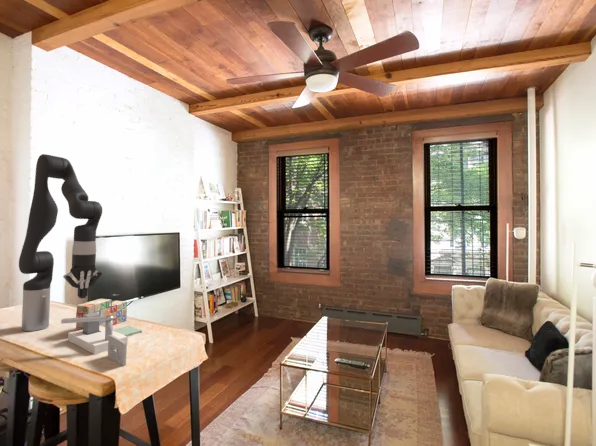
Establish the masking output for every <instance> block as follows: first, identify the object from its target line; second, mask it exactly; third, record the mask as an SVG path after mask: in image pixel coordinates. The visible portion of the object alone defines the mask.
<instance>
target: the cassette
mask: <svg viewBox="0 0 596 446" xmlns="http://www.w3.org/2000/svg"><path fill="white" fill-rule="evenodd" d="M127 345H128V342H127V343H126V342H124V341H122V340H121V339H119V338H117V337H115V336H113V335H109V339H108V350H107V357H108V359H110V360H112V361H113V362H115V363H117V364H118V365H120V366H122V367H124V366H127Z"/></svg>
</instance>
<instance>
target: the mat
mask: <svg viewBox="0 0 596 446" xmlns="http://www.w3.org/2000/svg"><path fill="white" fill-rule="evenodd" d="M113 331H115V332H118V333H120V334H123V335H125V336H128V337H129V336H133V334H134V335H137V334H141V333H143V330H142V329H140V328H137V327H135V326H131V325H126V326H122V327H118V328H114V329H113Z"/></svg>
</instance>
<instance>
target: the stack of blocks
mask: <svg viewBox="0 0 596 446" xmlns="http://www.w3.org/2000/svg"><path fill="white" fill-rule="evenodd" d="M127 306H128V302H127V301H126V300H125V301H123V300H112V299H109V298H108V299H107V298H97V299H94V300H91V301H87V302H84V303H79V304H77V305H76V313H75V318H82V317H83V315H84V314H89V313H94V312H95V313H97V314H100V316H110V315H112V316H113V326H116V325H118V324H120V323H121V324H122V323H123V322H125V321H127V316H128V315H127V313H128V308H127ZM105 323H106V321H100V322H99V326H100V325H101V326H103V327H105ZM75 326H76V327H75V331H79V330H83V322H78V323H75Z"/></svg>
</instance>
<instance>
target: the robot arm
mask: <svg viewBox="0 0 596 446" xmlns="http://www.w3.org/2000/svg"><path fill="white" fill-rule="evenodd" d="M35 165H36V166H35V177H34V188H33V195H32V199H31V204H30V210H29V215H28V219H27V220H28V222H27V228H26V234H25V239H24V241H23V244H22V248H21V252H20V256H19V258H18V269H19V271H20V272H21V274H24V275H29V274H36V275H35V276H34V277H33V278H31V279H29V280H27V281H25V282H24V283H23V284H22V285H23V286H22V306H21V307H22V311H21V312H22V313H21V330H22V331H23V332H34V331H35V332H37V331H40V330H44V329H47V328H49V326H50V310H51V309H50V306H51V305H50V304H51V285H52V281H53V274H54V267H55V266H54V264H55V263H54V261H55V259H54V256H53V254H52V252H50V251H48V250H47V251H46V250H41V251H39V250H38V248H39V245H40V243H41V242H42V241H43V239H44V238H45V237H46V236H47V235H48V234H49V233H50V232H51V231H52V230H53V228H55V225H56V223H57V217H58V214H59V208H58V205H57V204H56V201H55V199H54V198H53V196H52V195H51V194H52V193H50V192H51V191H50V189H49V182H48V181H49V178H52V179H56V180H57V179H58V180H60V179H61V180H63V183H62V184H61V188H60V189H61V193H62V195H63V197H64V199H65V201H67V204H68V205H67V206H68V211H69V212H68V213H69V215H70V216H71V217H72V218H74V219H78V220H87V221H86V222H85V223H84V224H81V225H80V224H79V225H77V226H75V227H74V229H73V243H72V250H71V251H72V252H71V269H70V270H69V272H68V273H67V274H64V275H63V277H62V278H63V279H65V280H66V282H67V283H68V284H69V285H70V286H71V287H72V288H75V289H77V297H78V298H79V299H85V298H86V299H87V296H88V291H89V287H93V286H94V285H95V283H97V281H98V280H99V278H100V277H101V276H102V275H103V274H102V272H101V271H99V270H97V267H96V259H97V257H96V256H97V255H96V253H97V243H96V239H97V238H96V237H97V229H98V226H99V224H100V220H101V217H102V215H103V206H102V205H101V203H100V202H98V201H95V200H94V201H93V200H89V195H88V193H87V192H86V190H85V189H84V188H83V187H82V185H81V184H80V181H79V180H78V178H77V177H78V176H77V175H76V172H75V170H74V167H73V165H72V163H71V162H70V161H69V159H67V158H65V157H60V156H55V155H51V154H45V153H44V154H41V155H39V157H37V160H36V164H35ZM73 277H74V278H75V280H74V279H73Z"/></svg>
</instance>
